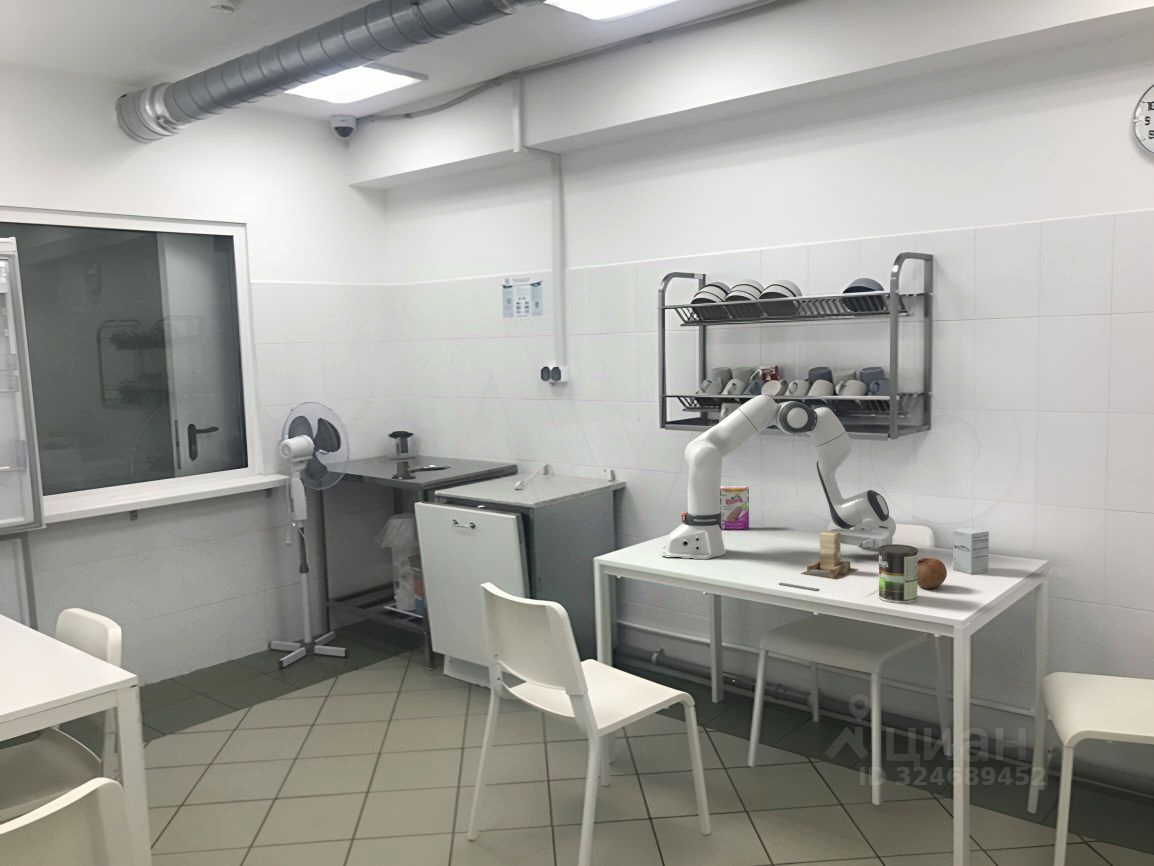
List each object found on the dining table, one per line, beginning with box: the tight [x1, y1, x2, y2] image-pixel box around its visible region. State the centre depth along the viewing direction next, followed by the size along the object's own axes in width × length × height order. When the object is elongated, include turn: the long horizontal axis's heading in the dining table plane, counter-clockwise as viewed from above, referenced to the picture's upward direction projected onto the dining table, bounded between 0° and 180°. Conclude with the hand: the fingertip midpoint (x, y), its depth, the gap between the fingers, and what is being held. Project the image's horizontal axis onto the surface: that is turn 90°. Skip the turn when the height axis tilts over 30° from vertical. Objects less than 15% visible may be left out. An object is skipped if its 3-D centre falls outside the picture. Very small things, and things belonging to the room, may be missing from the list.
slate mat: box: [778, 582, 820, 592], centre depth 267 cm, size 12×12×1 cm
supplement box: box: [952, 526, 990, 575], centre depth 274 cm, size 7×7×13 cm
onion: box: [917, 557, 948, 590], centre depth 258 cm, size 10×9×10 cm
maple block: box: [819, 530, 842, 572], centre depth 278 cm, size 4×4×12 cm
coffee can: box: [877, 543, 919, 604], centre depth 248 cm, size 10×10×14 cm
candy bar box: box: [720, 485, 750, 531], centre depth 347 cm, size 11×5×16 cm, turn 84°
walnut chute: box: [800, 560, 859, 580], centre depth 278 cm, size 15×12×3 cm
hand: (848, 542), depth 286 cm, fingers open, 8 cm apart
